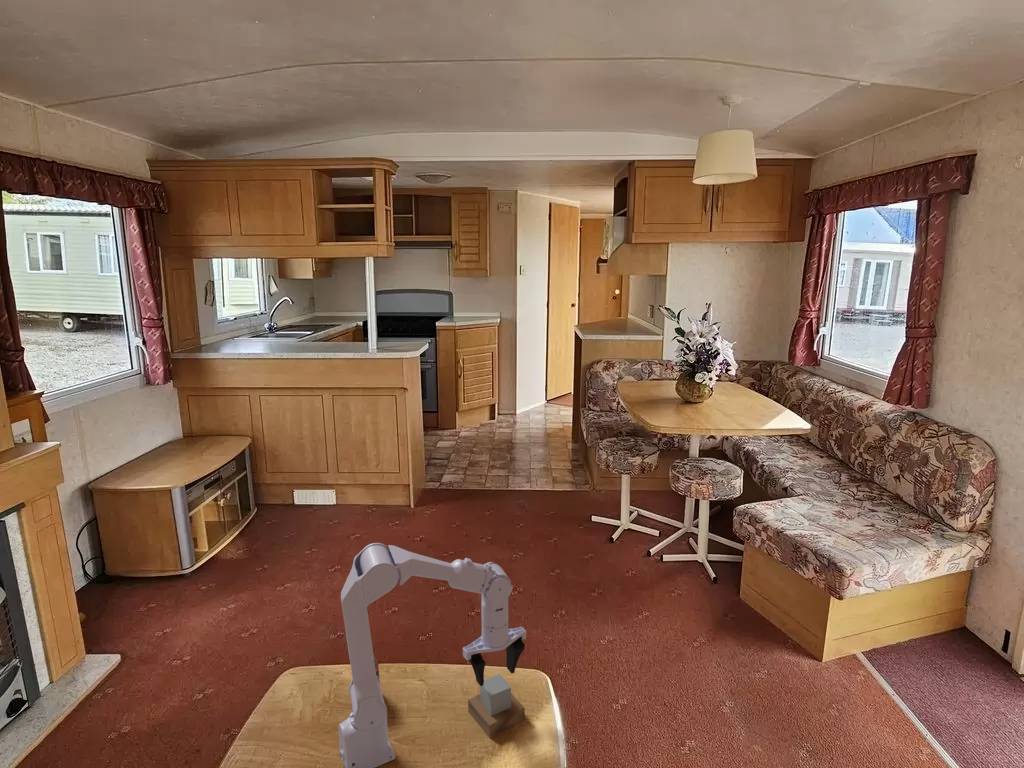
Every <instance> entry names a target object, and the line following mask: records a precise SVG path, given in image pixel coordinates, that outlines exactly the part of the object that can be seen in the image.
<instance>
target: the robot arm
mask: <svg viewBox="0 0 1024 768" xmlns="http://www.w3.org/2000/svg"><path fill="white" fill-rule="evenodd" d="M411 577H418V578H419V577H420V578H428V579H433V580H441V581H447V583H448V585H449V587H450V588H452V589H457V590H460V591H465V592H471V593H476V594H480V595H481V600H480V601H481V610H480V612H481V636H480V637H478V638H477V639H475V640H474V641H472V642H471V643H469V644H467V645H466V646H463V647H462V656H463V658H464V659H465V661H467V662H468V661H469V662H470V663H469V664H471V667H472V669H473V673H474V676H475V681H476V683H478V685H479V687H480V686H483V685H484V680H485V675H484V673H485V666H486V664H487V663H486V661H485V660H484V659H483V655H482V654H485V653H492V652H493V653H494V652H500V651H503V650H505V652H506V668H507V671H509V672H510V674H511V675H512V674H514V673H515V671H516V667H517V664H518V662H519V661H518V660H519V659H520V657H521V655H522V654H523V653H524V651H525V647H526V646H525V643H524V642H523V640H527V631H526V629H525V628H524V627H523V626H519V627H515V628H509V597H510V595H511V594H512V591H513V589H514V586H513V585H512V581H511V579H510V577H509V576H508V575H507V573H506V572H505V571H504V569H503V568H502V567H501V566H500V565H499V564H498V563H496V562H494V561H488V562H486V563H483V564H482V563H477V562H473V560H472V559H471V558H467V557H465V558H464V559H460V558H457V559H455V560H453V561H452V562H448V561H444V560H440V559H436V558H434V557H430V556H425V555H422V554H419V553H415V552H412V551H410V550H409V551H408V550H407V549H403V548H402V547H398V546H396V545H394V544H393V545H392V544H388V546H387V545H385V544H384V543H381V542H373V543H369V544H368V545H366V546H365V547H363V549H362V550H360V552H359V553H357V554H356V555H355V556H354V557H353V563H352V566H351V569H350V572H349V573H348V575H347V578H346V580H345V583H344V585H343V587H342V590H341V591H340V602H341V610H342V616H343V622H344V623H343V624H344V628H345V629H344V631H345V636H346V643H347V644H346V645H347V650H348V656H349V657H348V658H349V665H350V671H351V682H350V684H349V687H348V693H349V696H350V701H351V705H352V709H351V711H350V714H349V716H348V717H347V718H346V719H345V720H344V721H342V722H340V723H339V724H338V725H337V727H338V728H337V729H338V743H339V750H338V752H339V754H340V759H341V761H342V763H343V766H344V768H378V767H380V766H383V765H384V764H388V763H389V762H391V761H393V760H395V759H396V754H395V751H394V749H393V748H392V745H391V743H390V741H389V733H388V731H389V730H388V709H387V705H386V703H385V699H384V695H383V692H382V688H381V680H380V677H379V678H378V676H377V675H376V670H375V662H374V658H375V655H374V649H373V642H372V635H371V628H370V621H369V613H368V606H369V605H370V604H372V603H374V602H375V601H377V600H378V599H380V598H381V597H384V596H385V595H386V594H388V593H390V592H391V591H392V590H394V588H395V587H396V586H397V584H398V583H399V586H402V585H404V584H405V583H406V582H407V581H408V580H409V579H410V578H411Z"/></svg>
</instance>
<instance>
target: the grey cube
mask: <svg viewBox="0 0 1024 768" xmlns="http://www.w3.org/2000/svg"><path fill="white" fill-rule="evenodd" d="M479 689H480V690H479V691H480V693H479V694H480V696H481V702H482V704H483V705H484V707H485V708H486V710H487V711H488V713H489V714H490V716H492V715H495V714H497V713H499V712H502V711H504V710H506V709H509V708H511V694H512V688H511V686H510V685H509V683H508V682H507V680H506V679H505V678H504V677H503V675H502V674H501V673H499V674H495V675H494V676H491V677H488V678H484V685H483V686H480V685H479Z"/></svg>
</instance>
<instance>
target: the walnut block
mask: <svg viewBox="0 0 1024 768" xmlns="http://www.w3.org/2000/svg"><path fill="white" fill-rule="evenodd" d="M467 703H468V704H467V706H468V708H467V711H468V713H469V715H470V716H471V717H472V718H473V719H474V721H475V722H476V723H477V724H478V726H479V727H480V728H481V729H482V730H483V732H484V733H485V734H486V736H487V737H488V738H489V739H491V738H493V737H495V736H497V735H499V734H500V733H502V732H504V731H507V730H508V729H510V728H512V727H514V726H516V725H517V724H519V723H522V722H524V721H525V717H526V716H525V710H526V709H525V707H524V706H523V704H521V702H519V700H518V699H517V698H516V697H515V696H514V695H513V694H512V693H511V708H509V709H506V710H504V711H502V712H499V713H497V714H495V715H492V716H490V714H489V713H488V711H487V710H486V708H485V707H484V705H483V704H482V702H481V696H480V693H479V694H476V695H475V696H473V697H471V698H469V699H468V701H467Z"/></svg>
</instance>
